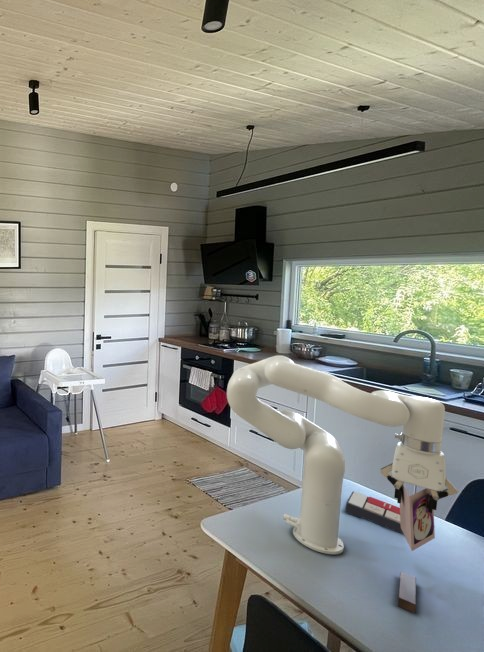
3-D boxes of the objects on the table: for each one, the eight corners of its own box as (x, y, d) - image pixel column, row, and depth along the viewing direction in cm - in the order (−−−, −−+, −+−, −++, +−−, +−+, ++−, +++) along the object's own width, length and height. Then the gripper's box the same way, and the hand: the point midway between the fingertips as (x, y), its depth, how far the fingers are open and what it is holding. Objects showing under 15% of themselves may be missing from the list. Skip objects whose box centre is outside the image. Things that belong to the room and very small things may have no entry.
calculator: (406, 524, 125) (346, 500, 136) (404, 536, 126) (344, 512, 137) (410, 510, 132) (353, 488, 143) (408, 522, 133) (351, 499, 144)
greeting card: (416, 553, 105) (413, 497, 105) (381, 537, 112) (379, 485, 112) (439, 539, 109) (436, 486, 109) (404, 525, 116) (402, 475, 116)
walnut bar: (397, 606, 99) (398, 597, 99) (399, 579, 108) (400, 571, 107) (414, 613, 97) (415, 604, 97) (415, 585, 106) (416, 577, 105)
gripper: (377, 437, 112) (371, 498, 113) (469, 458, 99) (461, 526, 101) (379, 429, 117) (374, 488, 118) (466, 449, 105) (459, 514, 106)
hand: (414, 505), depth 110 cm, fingers closed on greeting card, 5 cm apart
